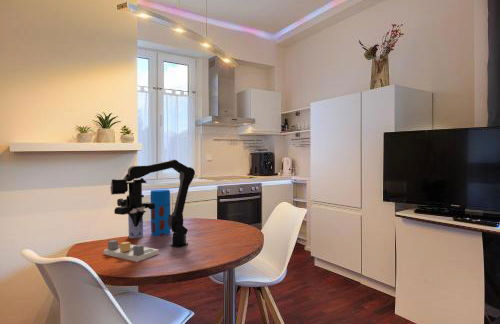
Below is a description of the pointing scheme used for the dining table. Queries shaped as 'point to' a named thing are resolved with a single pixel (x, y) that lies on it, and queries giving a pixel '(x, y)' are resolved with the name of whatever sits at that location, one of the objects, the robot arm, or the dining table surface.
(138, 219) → the robot arm
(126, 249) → the handle
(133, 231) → the aerosol can
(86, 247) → the dining table surface
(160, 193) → the tall blue box
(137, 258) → the breaker panel
